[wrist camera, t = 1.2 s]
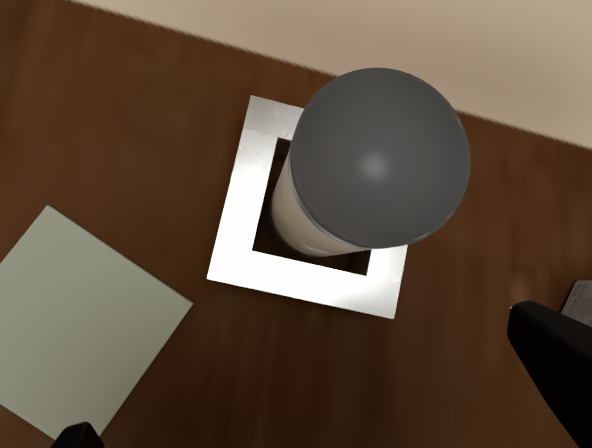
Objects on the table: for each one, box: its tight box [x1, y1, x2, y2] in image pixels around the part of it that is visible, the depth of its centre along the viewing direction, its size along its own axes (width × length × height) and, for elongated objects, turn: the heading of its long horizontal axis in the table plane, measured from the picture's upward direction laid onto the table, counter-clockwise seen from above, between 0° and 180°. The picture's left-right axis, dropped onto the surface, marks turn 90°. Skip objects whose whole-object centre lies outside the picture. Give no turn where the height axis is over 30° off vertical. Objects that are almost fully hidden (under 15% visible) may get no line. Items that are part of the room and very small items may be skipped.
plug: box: [268, 68, 470, 259], centre depth 18 cm, size 5×5×13 cm
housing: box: [207, 95, 408, 319], centre depth 23 cm, size 9×9×4 cm
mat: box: [0, 205, 194, 440], centre depth 22 cm, size 9×9×1 cm
